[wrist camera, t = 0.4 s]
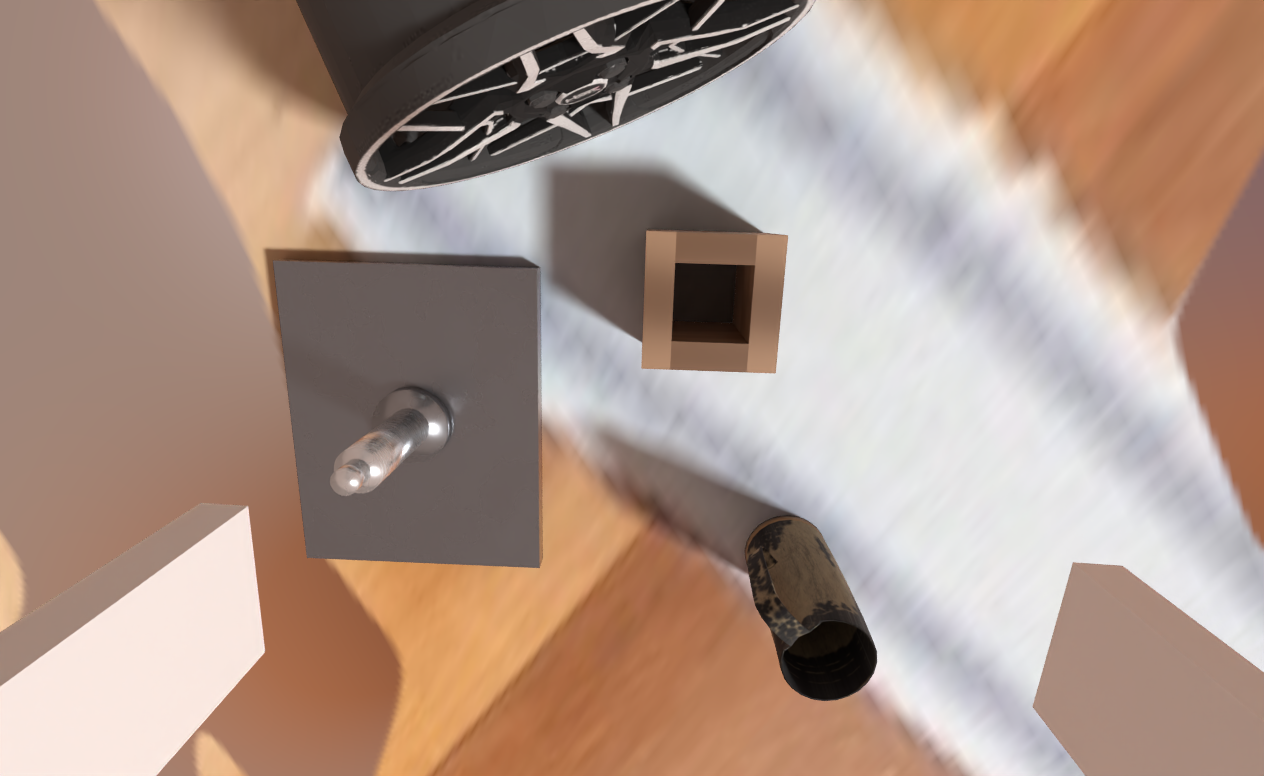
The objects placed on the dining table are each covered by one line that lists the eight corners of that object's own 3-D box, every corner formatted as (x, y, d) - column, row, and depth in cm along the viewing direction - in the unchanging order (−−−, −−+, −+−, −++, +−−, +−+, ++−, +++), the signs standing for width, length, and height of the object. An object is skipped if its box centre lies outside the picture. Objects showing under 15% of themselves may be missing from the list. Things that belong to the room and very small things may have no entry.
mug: (844, 555, 43) (914, 678, 32) (782, 603, 44) (828, 739, 33) (767, 477, 42) (811, 576, 30) (706, 529, 43) (726, 643, 31)
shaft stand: (284, 259, 39) (151, 273, 29) (540, 267, 39) (499, 284, 28) (315, 548, 44) (213, 648, 34) (542, 558, 44) (508, 662, 34)
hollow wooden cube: (647, 229, 38) (646, 230, 31) (763, 232, 38) (788, 235, 31) (643, 343, 40) (641, 368, 33) (754, 347, 40) (775, 373, 33)
